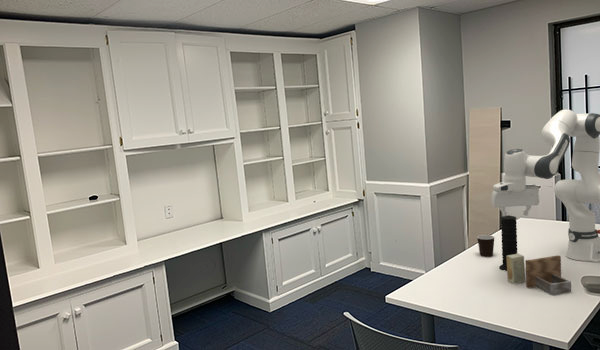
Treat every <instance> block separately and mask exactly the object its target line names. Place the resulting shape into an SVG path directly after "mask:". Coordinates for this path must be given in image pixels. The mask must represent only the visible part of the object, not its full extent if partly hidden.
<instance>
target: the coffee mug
mask: <svg viewBox="0 0 600 350" xmlns="http://www.w3.org/2000/svg"><path fill="white" fill-rule="evenodd" d="M476 239H477V244H478V245H477V246H478V251H479V256H480V257H483V258H491V257H492V258H493V256H494V247H495V239H496V238H495V236H494V235H490V234H481V235H477V237H476Z"/></svg>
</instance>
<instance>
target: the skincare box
mask: <svg viewBox="0 0 600 350" xmlns="http://www.w3.org/2000/svg"><path fill="white" fill-rule="evenodd" d="M506 257H507V271H506V272H507V273H506V274H507V282H509V283H511V284H513V285H515V283H516V284H520V283H526V266H525V256H524V255H522V254H521V253H520V254H519V253H517V254H513V255H507V256H506Z"/></svg>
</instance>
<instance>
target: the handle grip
mask: <svg viewBox="0 0 600 350" xmlns="http://www.w3.org/2000/svg"><path fill="white" fill-rule="evenodd" d="M500 219H501V221H500V224H501V225H500V226H501V228H500V229H501V257H502V264H500V265H499V266H498V268H499V270H501V271H503V270H505V271H504V272H507V257H506V256H507V255H513V254H518V234H517V233H518V232H517V231H518V229H517V227H518V226H517V216H514V215H513V216H512V215H510V214H509V215H508V214H507V216H504V217H503V216H502V215H501V216H500Z"/></svg>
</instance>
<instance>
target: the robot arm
mask: <svg viewBox="0 0 600 350" xmlns="http://www.w3.org/2000/svg"><path fill="white" fill-rule="evenodd" d="M541 137H542V139H543V141H544V142H545V143H546V144H547V145H549V146H550V147H551V149H550V151H549V153H548V154H546V155H530V154H527V153H526V152H525V150H524V149H522V148H515V149H510V150H508V151H506V152H505V154H504V158H503V159H504V160H503V171H504V177H503V181H501V182H498V183H496V184H493V185H492V188H493V190H492V192H491V195H490V196H491V198H490V205H491V206H492V207H494V208H499V210H500V212H501V217H502V216H503V217H504V216H508V213H507V211H504V209H505V207H507V208H508V207H509V208H510V207H525V210H524V211H523V216H529V212H530V210H531V209H532V206H538V205H539V204H540V195H539V192H540V188H539V186H538V185H536V184H527V180H526V179H527V178H526V177H529V178H540V179H545V180H549V179H552V178H553V177H554V176H556V174H557V173H558V171H559V167H560V163H561V162H562V159H563V158H564V156H565V154H566V152H567V150H568V148H569V146H570V143H571V138H570V137H575V140H574V145H573V149H572V150H573V151H572V158H571V159H572V162H571V167H572V169H573V170H574V171H575V172H577V173H579V174H580V179H560V180H558V181H557V182H556V183H555V185H554V188H553V192H554V195H555V196H556V198H558V199H559V200H560V201H561V202H562V203H563V205H564V207H565V209H566V211H567V213H568V225H569V226H568V227H569V228H568V231H567V233H568V236H567V237H568V244H567V251H566V254H565V257H567V258H569V259H571V260H575V261H582V262H583V261H584V262H593V263H599V262H600V236H599V234H600V229H596V216H595V214H594V212H593V211H592V210H590V209H589V208H588V207H587V206H586V204H590V205H591V204H593V205H595V204H596V205H597V204H600V170H599V162H600V161H599V160H600V114H599V113H593V112H590V113H582V112H581V113H576V112H574V111H573V110H571V109H561V110H559V111H558V112H557V113H556V114H554V115H553V116H552V117H551V118H550V119H549V120H548V121H547V122H546V123H545V124H544V126H543V128H542V129H541Z"/></svg>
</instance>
